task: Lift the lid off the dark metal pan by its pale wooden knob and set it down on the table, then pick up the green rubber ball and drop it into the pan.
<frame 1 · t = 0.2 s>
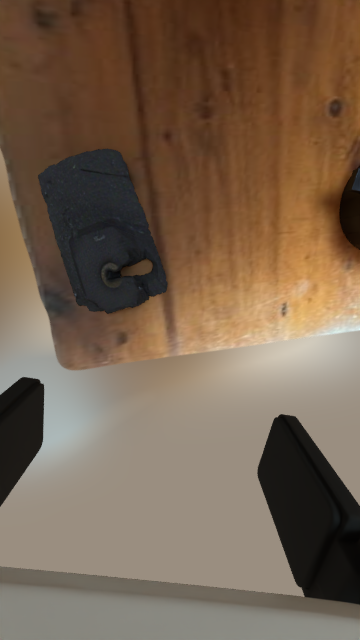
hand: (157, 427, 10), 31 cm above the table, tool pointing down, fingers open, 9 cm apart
dark slate chunk: (107, 238, 37), on the table
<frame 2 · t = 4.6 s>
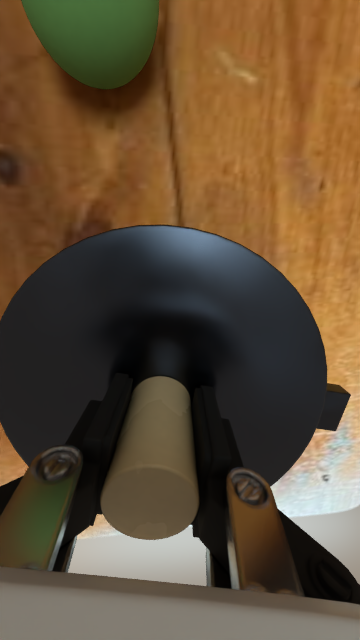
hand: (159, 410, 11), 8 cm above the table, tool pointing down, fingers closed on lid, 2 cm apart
pan: (167, 342, 19), on the table
lid: (161, 394, 12), point 7 cm above the table, touching gripper, pan
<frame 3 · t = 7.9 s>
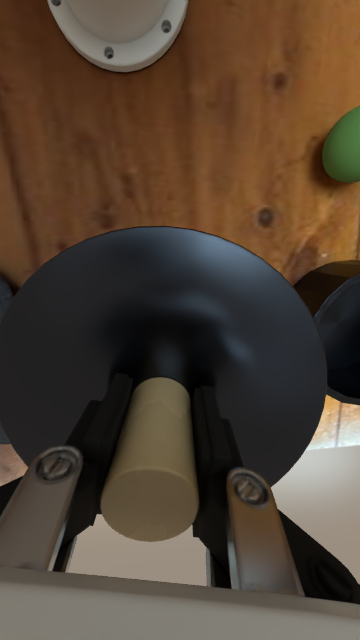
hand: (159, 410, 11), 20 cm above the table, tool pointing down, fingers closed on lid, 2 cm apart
pan: (335, 320, 30), on the table
lid: (161, 395, 12), point 18 cm above the table, touching gripper
ball: (359, 145, 22), point 3 cm above the table
dark slate chunk: (2, 355, 31), on the table
when the fingers open (2 cm above the table, at t = 11.3 s): lid stays where it is, point 1 cm above the table.
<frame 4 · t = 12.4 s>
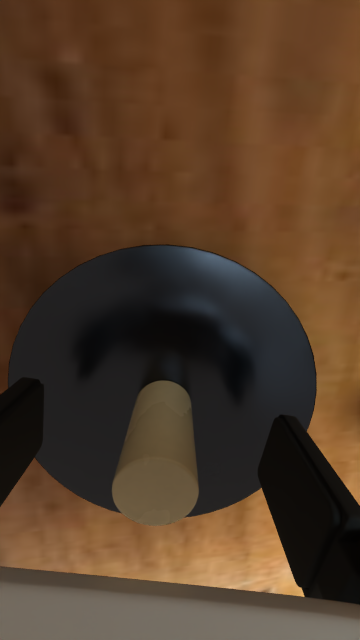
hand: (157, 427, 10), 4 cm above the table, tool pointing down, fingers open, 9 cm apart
lid: (164, 397, 13), point 1 cm above the table
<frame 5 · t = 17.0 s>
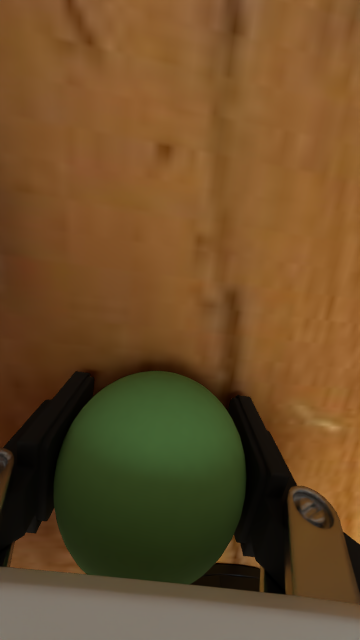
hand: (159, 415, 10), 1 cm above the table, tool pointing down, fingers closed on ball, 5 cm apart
pan: (211, 639, 16), on the table
ball: (154, 461, 8), point 3 cm above the table, touching gripper
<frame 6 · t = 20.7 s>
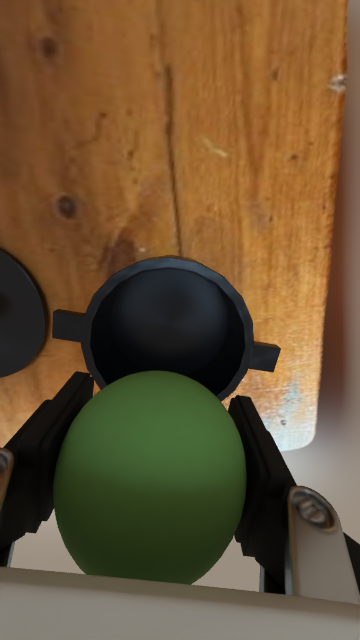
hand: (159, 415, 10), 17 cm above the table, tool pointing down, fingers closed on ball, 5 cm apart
pan: (169, 322, 27), on the table
ball: (154, 462, 8), point 20 cm above the table, touching gripper
when the fingers open (3 cm above the table, at t = 24.2 s): ball drops 2 cm, resting on pan.
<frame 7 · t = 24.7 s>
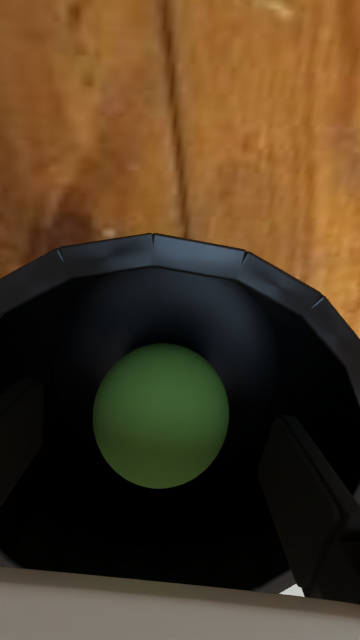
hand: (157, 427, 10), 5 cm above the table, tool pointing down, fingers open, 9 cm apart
pan: (166, 372, 14), on the table
ball: (162, 408, 11), point 3 cm above the table, touching pan
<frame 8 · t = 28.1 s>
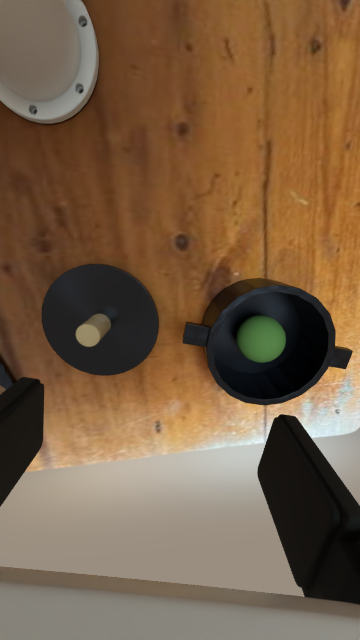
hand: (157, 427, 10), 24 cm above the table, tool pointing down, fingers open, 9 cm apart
pan: (252, 330, 34), on the table
lid: (101, 322, 33), point 1 cm above the table
ball: (260, 338, 31), point 3 cm above the table, touching pan
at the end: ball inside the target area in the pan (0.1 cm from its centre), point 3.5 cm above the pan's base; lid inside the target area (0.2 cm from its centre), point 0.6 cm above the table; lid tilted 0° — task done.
